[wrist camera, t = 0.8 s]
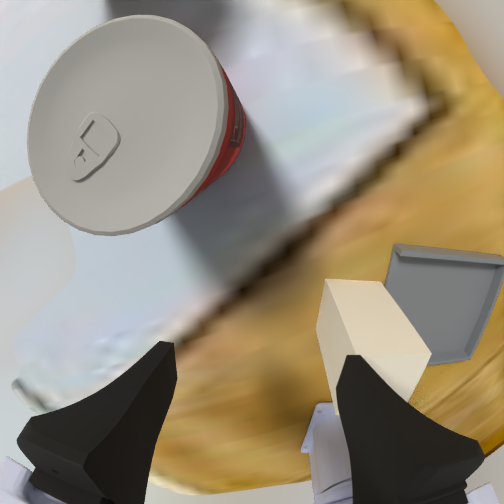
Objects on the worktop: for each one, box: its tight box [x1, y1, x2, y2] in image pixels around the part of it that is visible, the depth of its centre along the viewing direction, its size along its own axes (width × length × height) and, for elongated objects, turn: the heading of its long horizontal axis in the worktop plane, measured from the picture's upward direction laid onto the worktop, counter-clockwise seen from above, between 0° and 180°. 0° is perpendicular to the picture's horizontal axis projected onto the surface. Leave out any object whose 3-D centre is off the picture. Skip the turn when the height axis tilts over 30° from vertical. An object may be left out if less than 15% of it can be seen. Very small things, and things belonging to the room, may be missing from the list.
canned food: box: [27, 15, 246, 236], centre depth 13 cm, size 8×8×11 cm
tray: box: [384, 244, 504, 365], centre depth 21 cm, size 11×12×2 cm
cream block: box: [316, 279, 432, 415], centre depth 18 cm, size 4×4×9 cm
